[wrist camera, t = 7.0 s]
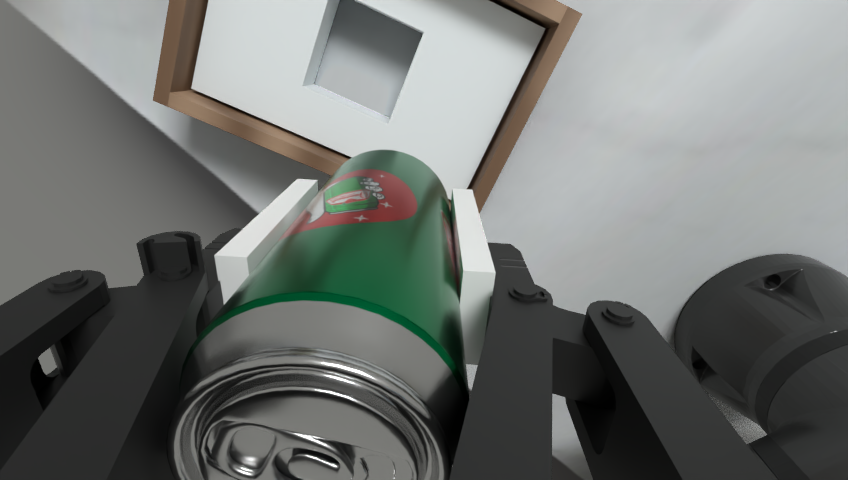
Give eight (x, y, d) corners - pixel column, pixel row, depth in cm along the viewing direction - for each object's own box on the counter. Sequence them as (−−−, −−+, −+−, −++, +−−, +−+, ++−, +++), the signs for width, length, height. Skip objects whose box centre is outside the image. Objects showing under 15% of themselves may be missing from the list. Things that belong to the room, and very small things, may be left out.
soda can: (417, 279, 19) (394, 602, 8) (309, 234, 18) (113, 521, 7) (470, 179, 17) (542, 418, 6) (352, 123, 16) (176, 277, 5)
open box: (560, 21, 31) (582, 13, 26) (465, 211, 36) (469, 233, 32) (239, -141, 28) (199, -183, 23) (192, 95, 33) (152, 100, 29)
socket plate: (536, 31, 31) (545, 28, 28) (458, 192, 36) (459, 203, 33) (253, -109, 28) (233, -128, 25) (211, 86, 33) (191, 88, 30)
